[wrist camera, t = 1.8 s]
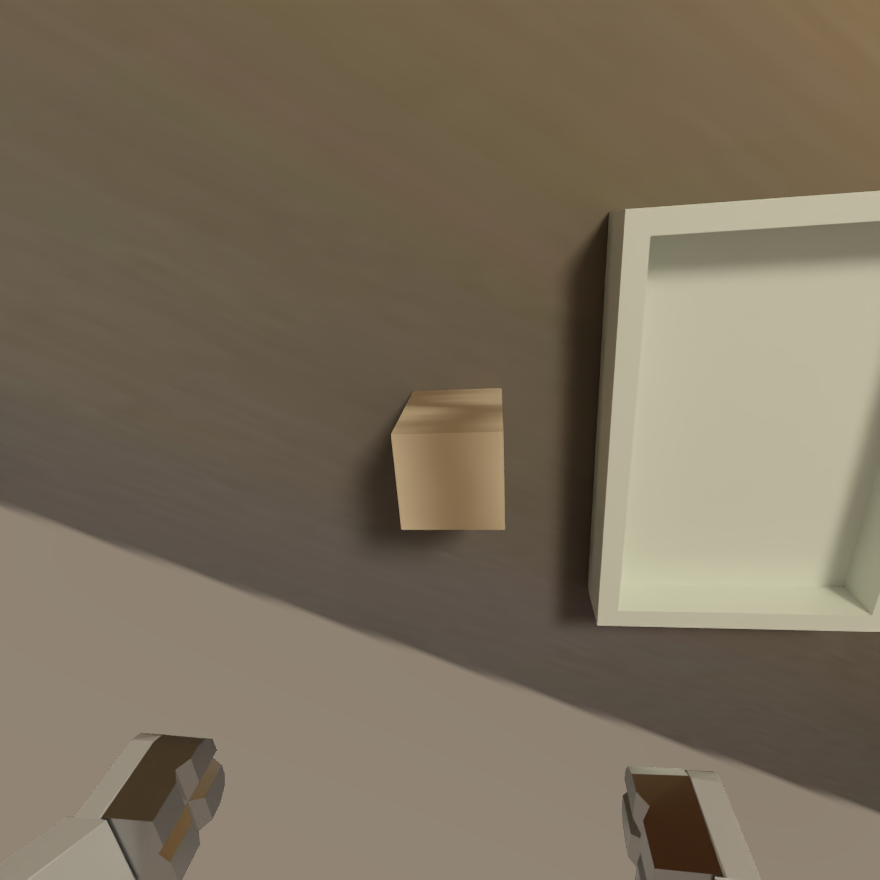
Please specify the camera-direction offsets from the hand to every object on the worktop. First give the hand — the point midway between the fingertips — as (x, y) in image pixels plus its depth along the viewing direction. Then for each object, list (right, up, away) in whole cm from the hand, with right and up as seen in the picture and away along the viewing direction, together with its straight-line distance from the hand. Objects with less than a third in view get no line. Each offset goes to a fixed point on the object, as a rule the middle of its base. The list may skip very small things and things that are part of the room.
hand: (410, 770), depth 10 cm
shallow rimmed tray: (+15, +7, +15) cm, 23 cm away
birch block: (+2, +7, +17) cm, 18 cm away
